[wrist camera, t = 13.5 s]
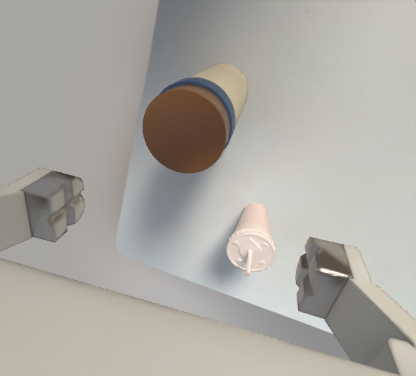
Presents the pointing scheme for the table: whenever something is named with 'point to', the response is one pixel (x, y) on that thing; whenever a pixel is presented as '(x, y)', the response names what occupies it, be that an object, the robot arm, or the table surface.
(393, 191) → the table surface
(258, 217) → the smoothie
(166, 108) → the brown lid
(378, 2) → the table surface
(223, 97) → the bottle
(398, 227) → the table surface
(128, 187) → the table surface
